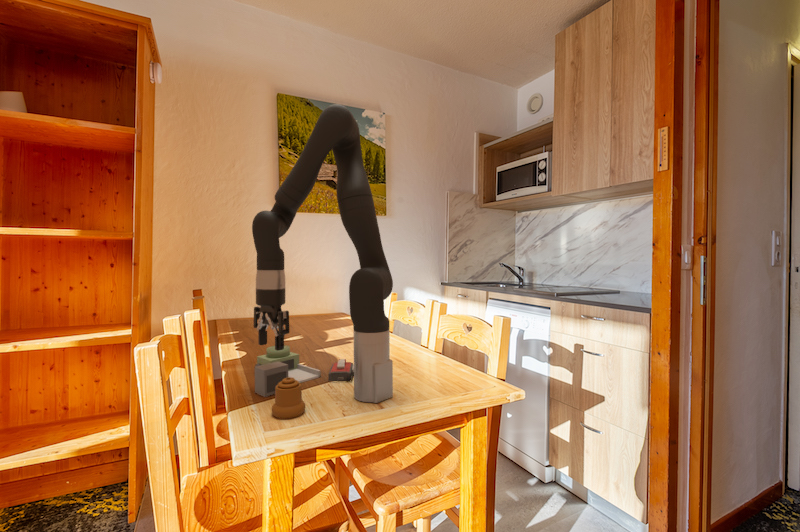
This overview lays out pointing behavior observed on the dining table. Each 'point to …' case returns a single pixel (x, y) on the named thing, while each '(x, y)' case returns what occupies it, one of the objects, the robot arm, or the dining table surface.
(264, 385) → the grey cube box
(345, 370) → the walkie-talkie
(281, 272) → the robot arm
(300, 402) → the ornamental finial
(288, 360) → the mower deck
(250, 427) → the dining table surface
